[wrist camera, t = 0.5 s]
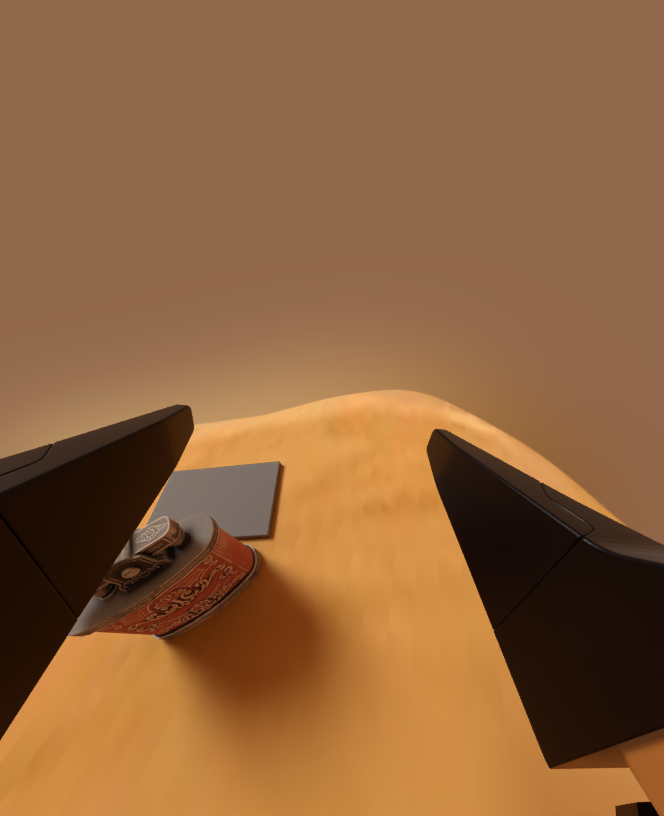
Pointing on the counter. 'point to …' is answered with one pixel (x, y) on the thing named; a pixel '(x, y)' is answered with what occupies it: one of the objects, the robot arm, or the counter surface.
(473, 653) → the counter surface
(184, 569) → the lighter
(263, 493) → the mat
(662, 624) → the robot arm
